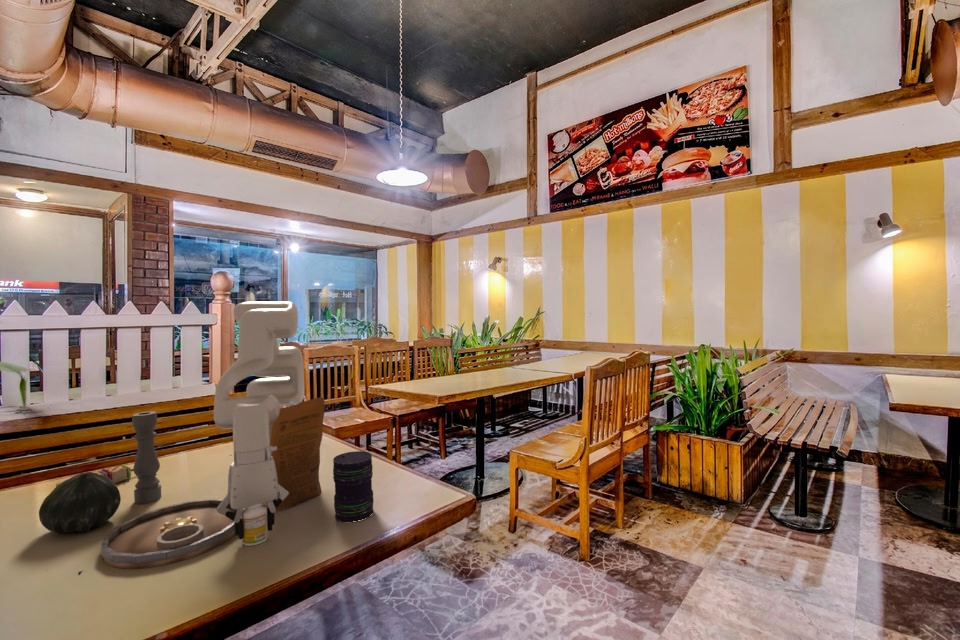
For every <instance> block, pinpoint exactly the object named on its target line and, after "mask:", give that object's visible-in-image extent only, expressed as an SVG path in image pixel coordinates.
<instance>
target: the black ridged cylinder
mask: <svg viewBox="0 0 960 640" xmlns="http://www.w3.org/2000/svg"><path fill="white" fill-rule="evenodd" d="M372 458H373V455H372V453H370V452H368V451H357V450H355V451H349V452H348V451H347V452H344V453H340V454H337V455H336V456H334V457H333V458H332V461H333V462H332V463H333V469H332V470H333V471H332V474H333V477H332V479H333V482H334V495H333V501H334V503H333V506H334V507H333V508H334V513H335V514H334V518H336V519H335V520H336V521H337V520H338V521H337V522H339V521H341V522H340V523H342V522H353V521H358V520H362V519H365V518H367V517H369V516H370V515H371V514H372V513H373V514H374V503H375V502H374V491H373V489H372V488H373V487H372V486H373V484H372V483H373V481H372V478H373V473H374V472H373V459H372ZM373 514H372V515H373ZM370 517H371V516H370ZM370 517H369V518H370ZM367 519H368V518H367ZM365 520H366V519H365Z"/></svg>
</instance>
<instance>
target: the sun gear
mask: <svg viewBox="0 0 960 640" xmlns="http://www.w3.org/2000/svg"><path fill="white" fill-rule="evenodd" d="M195 523H196V524H197V519H192V517H187V518H183V519H180V518H177V519H176V520H174V521H172V522H166V523H165V524H164V527H161V528H160V534H161V533H162V532H164V531H166V530H169V529H171V528H174V527H177V526H180V525H184V524H195Z"/></svg>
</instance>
